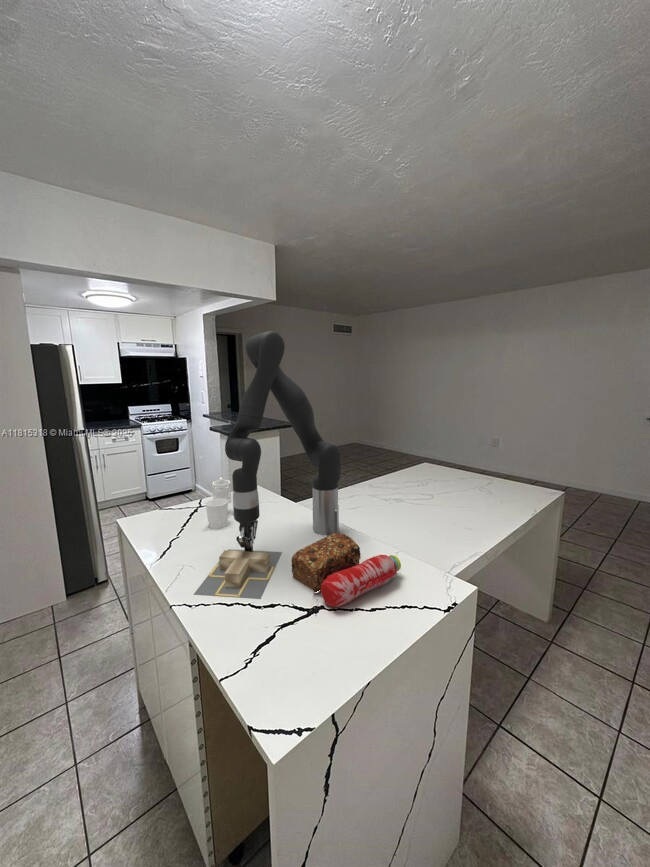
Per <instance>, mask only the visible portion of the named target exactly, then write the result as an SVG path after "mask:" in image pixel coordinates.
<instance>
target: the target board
mask: <svg viewBox="0 0 650 867" xmlns="http://www.w3.org/2000/svg"><path fill="white" fill-rule="evenodd" d="M227 550H230V551H245V550H244V549H232V548H231V549H230V548H229V549H227ZM253 552H265V553H270V567H269V569H268V570H267V572H266V573H265V572H249V573H248V575H247V577H246V578H245V580H244V582H243V583H242V585H241V587H240V588H234V587H225V572H226V571H227V570H220V562H219V561H218V562H217V563H216V564H215V566H214V567H213V568H212V570H211V571H210V572H209V574H208V575H207V576H206V577H205V579H204V580H203V581H202V583H201V584H200V585H199V586H198V588H197V589H196V590H195V592H194V593H192V594H193V596H206V597H207V596H210V597H221V598H222V597H224V598H235V599H236V598H238V599H239V598H240V599H255V600H261V599H262V598H263V595H264V592H266V591H265V590H266V588H267V587H268V585H269V582H270V580H271V578H272V576H273V574H274V571H275V570H276V567H277V564H278V563H279V561H280V558H281V556H282V554H283V551H268V550H253Z"/></svg>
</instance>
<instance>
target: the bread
mask: <svg viewBox="0 0 650 867" xmlns="http://www.w3.org/2000/svg"><path fill="white" fill-rule="evenodd" d="M361 557H362V556H361V547H360V546H359V544H357V543H356V542H355V541H354V539H352V538H351V537H350V536H349V535H347V534H345V533H342V532H338V533H334V534H331V535H330V536H327V535H326V536H325V537H323V538H320V540H318V541H316V542H313V543H311V544H309V545H307V546H305V547H303V548H301V549H299V550H297V551H296V552H295V553H293V555H292V557H291V573H292V578H293V579H295V580H296V581H297V582H299V583H301V584H302V585H304V586H305V587H307V588H308V589H310V590H312V591H313V593H314V592H317V591H319V590H321V584H322V583H323V581H324V580H325V579H326V578H327V577H328V576H329V575H331V574H333V573H332V572H333V571H334V570H335V569H337V568H338V567H339V566H341V565H342V564H346V565H350V566H356V565H358V564H360V563H361V562H360V560H361Z"/></svg>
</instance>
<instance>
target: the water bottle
mask: <svg viewBox="0 0 650 867" xmlns="http://www.w3.org/2000/svg"><path fill="white" fill-rule="evenodd" d="M401 567H402V563H401V560H400V559H399V557H398V556H396V555H393V554H390V555H389V556H388V555H386V554H379V555H375V556H372V557H370V558H367V559H365V560H364V561H361V562H360V563H359V564H358V565H356V566H350V565H346V564H342V565H341V566H339V567H338V568H337V569H335V570H334V571H333V572H332V573H333V574H331V575H329V576H328V577H327V578H326V579H325V580H324V581H323V583H322V584H321V591H320V593H321V597H322V598H323V601H324V603H326V604H327V606H329V607H334V608H335V607H337V608H338V607H342V606H344V605H346V604H348V603H350V602H352V601H353V600H356V599H357V598H359V597H360V596H362V595H364V594H366V593H367V592H371V591H373V590H376V589H378V588H380V587H383V586H384V585H386V584H388V583H389V582H390V581H392V580H393V579H394V578H395V576H396V574H397V573H398V572H399V571H400V570H401Z"/></svg>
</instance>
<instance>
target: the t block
mask: <svg viewBox="0 0 650 867" xmlns="http://www.w3.org/2000/svg"><path fill="white" fill-rule="evenodd" d="M218 559H219V560H218V562H220V570H227V571H226V572H225V587H234V588H240V587H241V585H242V583H243V582H244V580H245V578H246V577H247V575H248V573H249V572H265V573H266V572H267V570H268V569H269V567H270V553H265V552H248V551H230V550H228V549H227V550H225V549H224V551H222V553H221V554H220V555H219V557H218Z"/></svg>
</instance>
